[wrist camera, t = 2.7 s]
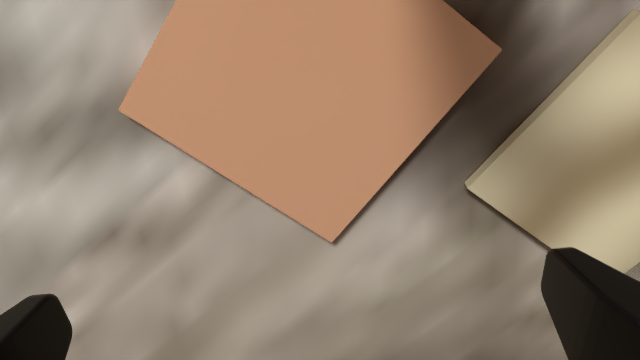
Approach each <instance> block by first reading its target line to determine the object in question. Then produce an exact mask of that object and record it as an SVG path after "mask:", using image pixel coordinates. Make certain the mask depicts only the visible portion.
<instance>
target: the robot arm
mask: <svg viewBox="0 0 640 360" xmlns="http://www.w3.org/2000/svg"><path fill="white" fill-rule="evenodd" d="M541 291H542V295H543V298H544V301H545V303H546V306H547V308H548V310H549V313H550V315H551V318H552V320H553V323H554V325H555V328H556V330H557V333H558V335H559V338H560V340H561V343H562V345H563V347H564V350H565V352H566V355H567V357H568V360H640V282H639V281H637V280H635V279H633V278H632V277H630V276H628V275H626V274H624V273H622V272H620V271H618V270H616V269H614V268H613V267H611V266H609V265H607V264H605V263H603V262H601V261H599V260H597V259H595V258H594V257H592V256H590V255H588V254H586V253H584V252H582V251H580V250H578V249H576V248H573V247H564V248H553V249H551V250H549V251H548V253H547V255H546V260H545V265H544V270H543V276H542V281H541ZM71 338H72V326H71V323H70V321H69V319H68V317H67V315H66V313H65V311H64V309H63V307H62V305H61V303H60V301H59V299H58V298H57V297H56V296H55V295H54V294H40V295H32V296H29V297H27V298H25V299H24V300H22V301H21V302H19V303H18V304H16V305H15V306H13V307H12V308H10V309H9V310H7V311H6V312H4V313H3V314H1V315H0V360H65V359H66V355H67V352H68V349H69V345H70V342H71Z"/></svg>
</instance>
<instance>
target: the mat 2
mask: <svg viewBox="0 0 640 360" xmlns="http://www.w3.org/2000/svg"><path fill="white" fill-rule="evenodd" d="M464 183H465V185H466V187H467V189H469V190H470V191H471V192H473V193H474V194H476V195H477V196H478V197H480V198H481V199H483V200H484V201H485V202H487V203H488V204H490V205H491V206H492V207H494V208H495V209H497V210H498V211H499V212H501V213H502V214H504V215H505V216H506V217H508V218H509V219H511V220H512V221H513V222H515V223H516V224H518V225H519V226H520V227H522V228H523V229H525V230H526V231H527V232H529V233H530V234H532V235H533V236H534V237H536V238H537V239H539V240H540V241H541V242H543V243H544V244H546V245H547V246H548V247H550V248H551V249H553V248H564V247H573V248H576V249H578V250H580V251H582V252H584V253H586V254H588V255H590V256H592V257H594V258H595V259H597V260H599V261H601V262H603V263H605V264H607V265H609V266H611V267H613V268H614V269H616V270H618V271H620V272H622V273H626V272H627V271H628V270H629V269H631V268H632V267H633V266H635V265H636V264H637V263H639V262H640V11H637V10H632V11H631V12H630V13H629V14H628V15H627V16H626V17H625V18H624V20H623V21H622V22H621V23H620V24H619V25H618V26H617V27H616V28H615V29H614V30H613V31H612V32H611V33H610V34H609V35H608V36H607V37H606V38H605V39H604V40H603V41H602V42H601V43H600V44H599V45H598V46H597V47H596V48H595V49H594V50H593V51H592V52H591V53H590V54H589V55H588V56H587V57H586V58H585V59H584V60H583V61H582V62H581V64H580V65H579V66H578V67H577V68H576V69H575V70H574V71H573V72H572V73H571V74H570V75H569V76H568V77H567V78H566V79H565V80H564V81H563V82H562V83H561V84H560V85H559V86H558V87H557V88H556V89H555V90H554V91H553V92H552V93H551V94H550V95H549V96H548V97H547V98H546V99H545V100H544V101H543V102H542V103H541V104H540V105H539V106H538V108H537V109H536V110H535V111H534V112H533V113H532V114H531V115H530V116H529V117H528V118H527V119H526V120H525V121H524V122H523V123H522V124H521V125H520V126H519V127H518V128H517V129H516V130H515V131H514V132H513V133H512V134H511V135H510V136H509V137H508V138H507V139H506V140H505V141H504V142H503V143H502V144H501V145H500V146H499V147H498V148H497V149H496V150H495V152H494V153H493V154H492V155H491V156H490V157H489V158H488V159H487V160H486V161H485V162H484V163H483V164H482V165H481V166H480V167H479V168H478V169H477V170H476V171H475V172H474V173H473V174H472V175H471V176H470V177H469V178H468V179H467V180H466V181H465V182H464Z"/></svg>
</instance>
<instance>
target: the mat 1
mask: <svg viewBox="0 0 640 360" xmlns="http://www.w3.org/2000/svg"><path fill="white" fill-rule="evenodd" d="M501 51H502V49H501V48H500V47H499V46H498V45H496V44H495V43H494V42H493V41H491V40H490V39H489V38H488V37H487V36H485V35H484V34H483V33H482V32H481V31H479V30H478V29H477V28H476V27H475V26H473V25H472V24H471V23H470V22H469V21H467V20H466V19H465V18H464V17H462V16H461V15H460V14H459V13H458V12H456V11H455V10H454V9H453V8H452V7H450V6H449V5H448V4H447V3H446V2H444V1H443V0H176V2H175V3H174V5H173V7H172V9H171V11H170V13H169V15H168V17H167V19H166V21H165V22H164V24H163V26H162V28H161V30H160V32H159V34H158V36H157V38H156V40H155V41H154V43H153V45H152V47H151V49H150V51H149V53H148V55H147V57H146V58H145V60H144V62H143V64H142V66H141V68H140V70H139V72H138V74H137V76H136V77H135V79H134V81H133V83H132V85H131V87H130V89H129V91H128V93H127V95H126V96H125V98H124V100H123V102H122V104H121V106H120V108H119V111H120V112H122V113H124V114H125V115H127V116H128V117H130V118H132V119H133V120H135V121H136V122H138V123H140V124H141V125H143V126H144V127H146V128H148V129H149V130H151V131H153V132H154V133H156V134H157V135H159V136H161V137H162V138H164V139H165V140H167V141H169V142H170V143H172V144H173V145H175V146H177V147H178V148H180V149H181V150H183V151H185V152H186V153H188V154H189V155H191V156H193V157H194V158H196V159H198V160H199V161H201V162H202V163H204V164H206V165H207V166H209V167H210V168H212V169H214V170H215V171H217V172H218V173H220V174H222V175H223V176H225V177H226V178H228V179H230V180H231V181H233V182H235V183H236V184H238V185H239V186H241V187H243V188H244V189H246V190H247V191H249V192H251V193H252V194H254V195H255V196H257V197H259V198H260V199H262V200H263V201H265V202H267V203H268V204H270V205H272V206H273V207H275V208H276V209H278V210H280V211H281V212H283V213H284V214H286V215H288V216H289V217H291V218H292V219H294V220H296V221H297V222H299V223H300V224H302V225H304V226H305V227H307V228H309V229H310V230H312V231H313V232H315V233H317V234H318V235H320V236H321V237H323V238H325V239H326V240H328V241H329V242H331V243H332V242H333V241H334V240H335V239H336V237H337V236H338V235H339V234H340V233H341V232H342V231H343V230H344V228H345V227H346V226H347V225H348V224H349V223H350V222H351V220H352V219H353V218H354V217H355V216H356V215H357V214H358V213H359V211H360V210H361V209H362V208H363V207H364V206H365V205H366V204H367V202H368V201H369V200H370V199H371V198H372V197H373V196H374V194H375V193H376V192H377V191H378V190H379V189H380V188H381V187H382V185H383V184H384V183H385V182H386V181H387V180H388V179H389V178H390V176H391V175H392V174H393V173H394V172H395V171H396V170H397V168H398V167H399V166H400V165H401V164H402V163H403V162H404V161H405V159H406V158H407V157H408V156H409V155H410V154H411V153H412V152H413V150H414V149H415V148H416V147H417V146H418V145H419V144H420V142H421V141H422V140H423V139H424V138H425V137H426V136H427V135H428V133H429V132H430V131H431V130H432V129H433V128H434V127H435V126H436V124H437V123H438V122H439V121H440V120H441V119H442V118H443V116H444V115H445V114H446V113H447V112H448V111H449V110H450V109H451V107H452V106H453V105H454V104H455V103H456V102H457V101H458V100H459V98H460V97H461V96H462V95H463V94H464V93H465V92H466V90H467V89H468V88H469V87H470V86H471V85H472V84H473V83H474V81H475V80H476V79H477V78H478V77H479V76H480V75H481V73H482V72H483V71H484V70H485V69H486V68H487V67H488V66H489V64H490V63H491V62H492V61H493V60H494V59H495V58H496V57H497V55H498V54H499V53H500V52H501Z"/></svg>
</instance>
